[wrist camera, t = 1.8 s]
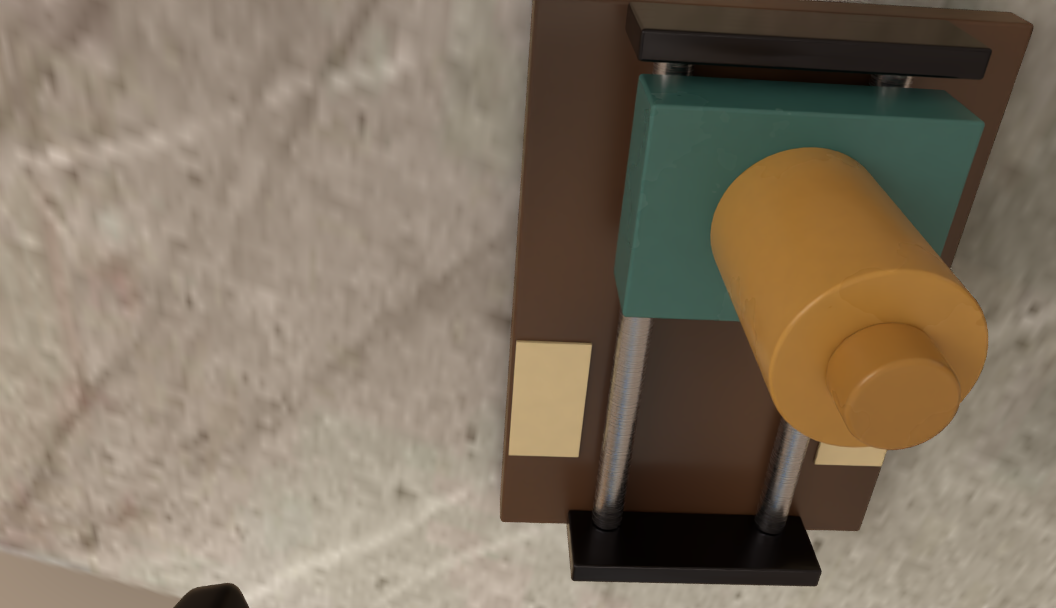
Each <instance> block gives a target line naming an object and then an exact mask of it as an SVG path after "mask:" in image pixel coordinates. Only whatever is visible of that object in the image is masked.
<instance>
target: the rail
mask: <svg viewBox="0 0 1056 608" xmlns="http://www.w3.org/2000/svg"><path fill="white" fill-rule="evenodd" d="M1032 31H1033V24H1031V23H1029V22H1027V21H1026V20H1024V19H1022V18H1020V17H1018V16H1016V15H1015V14H1013V13H1011V12H995V11H978V10H961V9H944V8H927V7H911V6H894V5H877V4H860V3H843V2H827V1H810V0H533V1H532V16H531V31H530V47H529V62H528V77H527V93H526V108H525V123H524V139H523V154H522V170H521V185H520V200H519V216H518V231H517V246H516V262H515V277H514V292H513V308H512V323H511V338H510V354H509V369H508V384H507V400H506V415H505V430H504V446H503V461H502V476H501V492H500V519H501V521H502V522H526V523H565V524H567V536H568V547H569V559H570V570H571V579H572V580H573V581H595V582H640V583H685V584H730V585H776V586H817V584H818V581H819V578H820V575H821V572H822V571H821V568H820V565H819V563H818V560H817V558H816V555H815V552H814V550H813V547H812V545H811V542H810V539H809V537H808V534H807V532H806V530H837V531H858V530H860V527H861V524H862V521H863V518H864V515H865V513H866V510H867V507H868V504H869V501H870V498H871V495H872V492H873V489H874V487H875V484H876V481H877V478H878V475H879V472H880V469H881V466H882V464H883V461H884V458H885V455H886V452H887V450H883V449H877V448H873V447H859V448H850V447H839V446H834V445H828V444H825V443H822V442H819V441H816V440H813V439H811V438H809V437H807V436H805V435H803V434H802V433H800V432H799V431H797V430H796V429H794V428H793V427H792V426H791V425H790V424H789V423H787V422H786V421H785V419H784V418H783V417H782V416H781V414H780V413H779V412H778V410H777V408H776V407H775V405H774V403H773V401H772V398H771V396H770V393H769V391H768V388H767V386H766V384H765V381H764V379H763V376H762V374H761V371H760V369H759V366H758V364H757V362H756V359H755V357H754V354H753V352H752V349H751V347H750V345H749V342H748V340H747V337H746V335H745V332H744V330H743V328H742V325H741V323H740V321H714V320H689V319H663V318H637V317H625V316H623V313H622V309H621V304H620V300H619V295H618V290H617V286H616V281H615V276H614V264H615V257H616V249H617V241H618V233H619V226H620V218H621V210H622V202H623V195H624V187H625V179H626V172H627V164H628V156H629V148H630V141H631V133H632V125H633V117H634V110H635V102H636V94H637V86H638V79H639V76H640V74H660V75H679V76H697V77H716V78H734V79H752V80H771V81H789V82H808V83H826V84H845V85H863V86H881V87H900V88H918V89H937V90H945V91H947V92H948V93H949V94H950V95H952V96H953V97H954V98H955V99H957V100H958V101H959V102H960V103H962V104H963V105H964V106H965V107H966V108H968V109H969V110H970V111H971V112H973V113H974V114H975V115H976V116H978V117H979V118H980V119H981V120H983V121H984V123H985V126H984V129H983V132H982V135H981V138H980V141H979V144H978V147H977V150H976V153H975V156H974V159H973V162H972V165H971V168H970V171H969V174H968V177H967V180H966V183H965V185H964V188H963V191H962V194H961V197H960V200H959V203H958V206H957V209H956V212H955V215H954V218H953V221H952V224H951V227H950V230H949V233H948V236H947V239H946V242H945V245H944V248H943V251H942V254H941V256H940V258H941V259H942V260H943V261H944V263H945V264H946V265H947V266H948V267H949V268H950V267H951V265H952V262H953V259H954V256H955V253H956V250H957V247H958V244H959V242H960V239H961V236H962V233H963V230H964V227H965V224H966V221H967V218H968V216H969V213H970V210H971V207H972V204H973V201H974V198H975V195H976V193H977V190H978V187H979V184H980V181H981V178H982V175H983V172H984V169H985V167H986V164H987V161H988V158H989V155H990V152H991V149H992V146H993V144H994V141H995V138H996V135H997V132H998V129H999V126H1000V123H1001V120H1002V118H1003V115H1004V112H1005V109H1006V106H1007V103H1008V100H1009V97H1010V94H1011V92H1012V89H1013V86H1014V83H1015V80H1016V77H1017V74H1018V71H1019V69H1020V66H1021V63H1022V60H1023V57H1024V54H1025V51H1026V48H1027V45H1028V43H1029V40H1030V37H1031V34H1032Z"/></svg>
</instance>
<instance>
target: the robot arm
mask: <svg viewBox="0 0 1056 608" xmlns="http://www.w3.org/2000/svg"><path fill="white" fill-rule="evenodd" d="M174 608H249V606H248V604H247V602H246V600H245V598H244V596H243V594H242V592H241V591H240V589H239V588H238V587H237V586H236V585H234V584H232V583H223V584H216V585H209V586H202V587H197V588H194V589H192V590H190V591H189V592H188V593H187V594H186V595H185V596H183V598H182V599H181V600H180V601H179V602H178V603H177V604H176V605H175V607H174Z"/></svg>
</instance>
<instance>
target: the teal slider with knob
mask: <svg viewBox="0 0 1056 608" xmlns="http://www.w3.org/2000/svg"><path fill="white" fill-rule="evenodd" d="M984 126H985V123H984V121H983V120H981V119H980V118H979V117H978V116H976V115H975V114H974V113H973V112H971V111H970V110H969V109H968V108H966V107H965V106H964V105H963V104H962V103H960V102H959V101H958V100H957V99H955V98H954V97H953V96H952V95H950V94H949V93H948V92H947V91H945V90H937V89H918V88H900V87H881V86H863V85H845V84H826V83H808V82H789V81H771V80H752V79H734V78H716V77H697V76H679V75H660V74H640V76H639V79H638V86H637V94H636V102H635V110H634V117H633V125H632V133H631V141H630V148H629V156H628V164H627V172H626V179H625V187H624V195H623V202H622V210H621V218H620V226H619V233H618V241H617V249H616V257H615V264H614V276H615V281H616V286H617V290H618V295H619V300H620V304H621V309H622V313H623V316H625V317H637V318H663V319H689V320H714V321H740V323H741V325H742V328H743V330H744V332H745V335H746V337H747V340H748V342H749V345H750V347H751V349H752V352H753V354H754V357H755V359H756V362H757V364H758V366H759V369H760V371H761V374H762V376H763V379H764V381H765V384H766V386H767V388H768V391H769V393H770V396H771V398H772V401H773V403H774V405H775V407H776V408H777V410H778V412H779V413H780V414H781V416H782V417H783V418H784V419H785V421H786V422H787V423H789V424H790V425H791V426H792V427H793V428H794V429H796V430H797V431H799V432H800V433H802V434H803V435H805V436H807V437H809V438H811V439H813V440H816V441H819V442H822V443H825V444H828V445H834V446H839V447H850V448H859V447H873V448H877V449H883V450H898V449H905V448H910V447H913V446H916V445H919V444H921V443H924V442H926V441H927V440H929V439H931V438H933V437H934V436H936V435H937V434H938V433H940V432H941V431H942V430H943V429H944V428H945V427H946V426H947V425H948V424H949V423H950V422H951V420H952V419H953V417H954V416H955V414H956V412H957V410H958V407H959V404H960V403H961V402H962V401H963V399H964V398H965V397H966V396H967V394H968V393H969V392H970V391H971V389H972V388H973V386H974V384H975V383H976V381H977V380H978V378H979V376H980V373H981V371H982V369H983V366H984V363H985V360H986V356H987V350H988V329H987V323H986V319H985V317H984V314H983V311H982V309H981V307H980V306H979V304H978V302H977V301H976V299H975V298H974V297H973V296H972V295H971V293H970V292H969V291H968V290H967V289H966V288H965V286H964V285H963V284H962V283H961V282H960V280H959V279H958V278H957V277H956V276H955V274H954V273H953V272H952V271H951V270H950V268H949V267H948V266H947V265H946V264H945V263H944V261H943V260H942V259H941V258H940V256H941V254H942V251H943V248H944V245H945V242H946V239H947V236H948V233H949V230H950V227H951V224H952V221H953V218H954V215H955V212H956V209H957V206H958V203H959V200H960V197H961V194H962V191H963V188H964V185H965V183H966V180H967V177H968V174H969V171H970V168H971V165H972V162H973V159H974V156H975V153H976V150H977V147H978V144H979V141H980V138H981V135H982V132H983V129H984Z"/></svg>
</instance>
